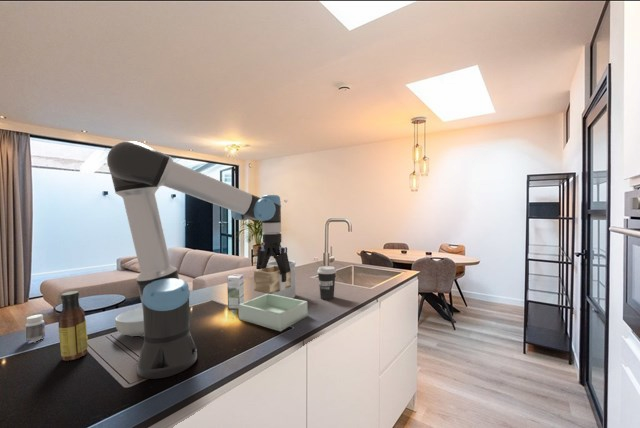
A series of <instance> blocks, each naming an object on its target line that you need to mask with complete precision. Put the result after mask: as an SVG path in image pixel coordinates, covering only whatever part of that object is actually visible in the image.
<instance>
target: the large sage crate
mask: <svg viewBox="0 0 640 428" xmlns="http://www.w3.org/2000/svg"><path fill="white" fill-rule="evenodd" d="M308 315H309V314H308V301H307V300H302V299H297V298H288V297H283V296H278V295H273V294H267V293H264V294H262V295H260V296H257V297H254V298H252V299H250V300H246V301H244V303H241V304H239V309H238V320H241V321H244V322H247V323H251V324H254V325H258V326H261V327H264V328H267V329H271V330H274V331H278V332H282V331H283V330H286V329H287V328H289V327H291V326H293V325H294V324H296V323H298V322H299V321H301V320H302V319H305V318H306V317H308Z"/></svg>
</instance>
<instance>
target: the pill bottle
mask: <svg viewBox="0 0 640 428" xmlns="http://www.w3.org/2000/svg"><path fill="white" fill-rule="evenodd" d="M45 324H46V323H45V320H44V315H43V314H40V313H39V314H34V315H30V316H27V317H26V323H25V325H24V328H25V329H24V332H25V343H26V342H29V341H36V340H40V339H43V338H44V337H45V338H46V334H45V333H46V328H45V327H46V326H45ZM45 338H44V339H45ZM44 339H43V340H44Z"/></svg>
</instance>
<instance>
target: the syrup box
mask: <svg viewBox="0 0 640 428" xmlns="http://www.w3.org/2000/svg"><path fill="white" fill-rule="evenodd" d="M244 279H245V278H244V274H229V276H227V277H226V283H227V285H226V286H227V309H228V310H239V304H241V303H244V302H245V288H244V287H245V285H244V284H245V283H244V282H245V281H244Z"/></svg>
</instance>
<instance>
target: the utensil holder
mask: <svg viewBox="0 0 640 428" xmlns="http://www.w3.org/2000/svg"><path fill="white" fill-rule="evenodd" d="M288 261H289V266H290V267H291V287H289V288H286V289H284V290H282V291H278V292H276V293H273V295H278V296H283V297H288V298H293V299H295V297H296V261H295V260H291V259H288ZM274 265H275V266H278V265H277V262H276V260H271V261H270V260H269V261H268V264H267V267H270V266H274ZM267 267H266V268H267Z"/></svg>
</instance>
